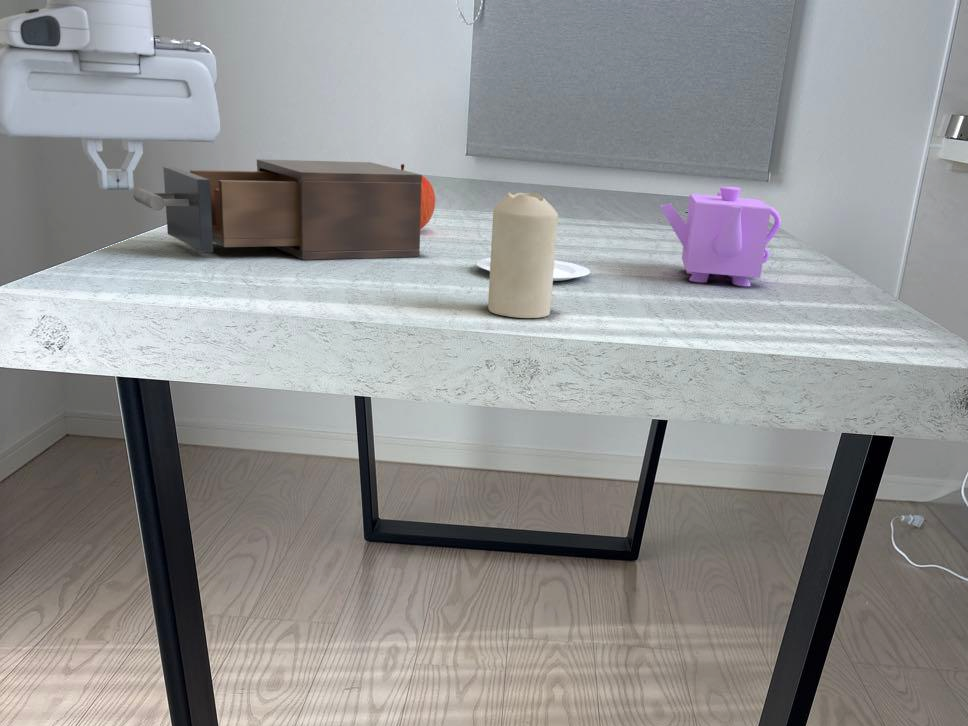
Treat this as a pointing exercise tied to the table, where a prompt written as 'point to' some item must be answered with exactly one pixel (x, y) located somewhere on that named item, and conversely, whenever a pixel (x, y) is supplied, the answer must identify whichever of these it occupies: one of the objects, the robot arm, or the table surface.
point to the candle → (522, 256)
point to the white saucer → (560, 269)
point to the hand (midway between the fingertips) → (116, 189)
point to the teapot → (724, 235)
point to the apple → (426, 201)
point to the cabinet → (353, 209)
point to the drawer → (228, 207)
